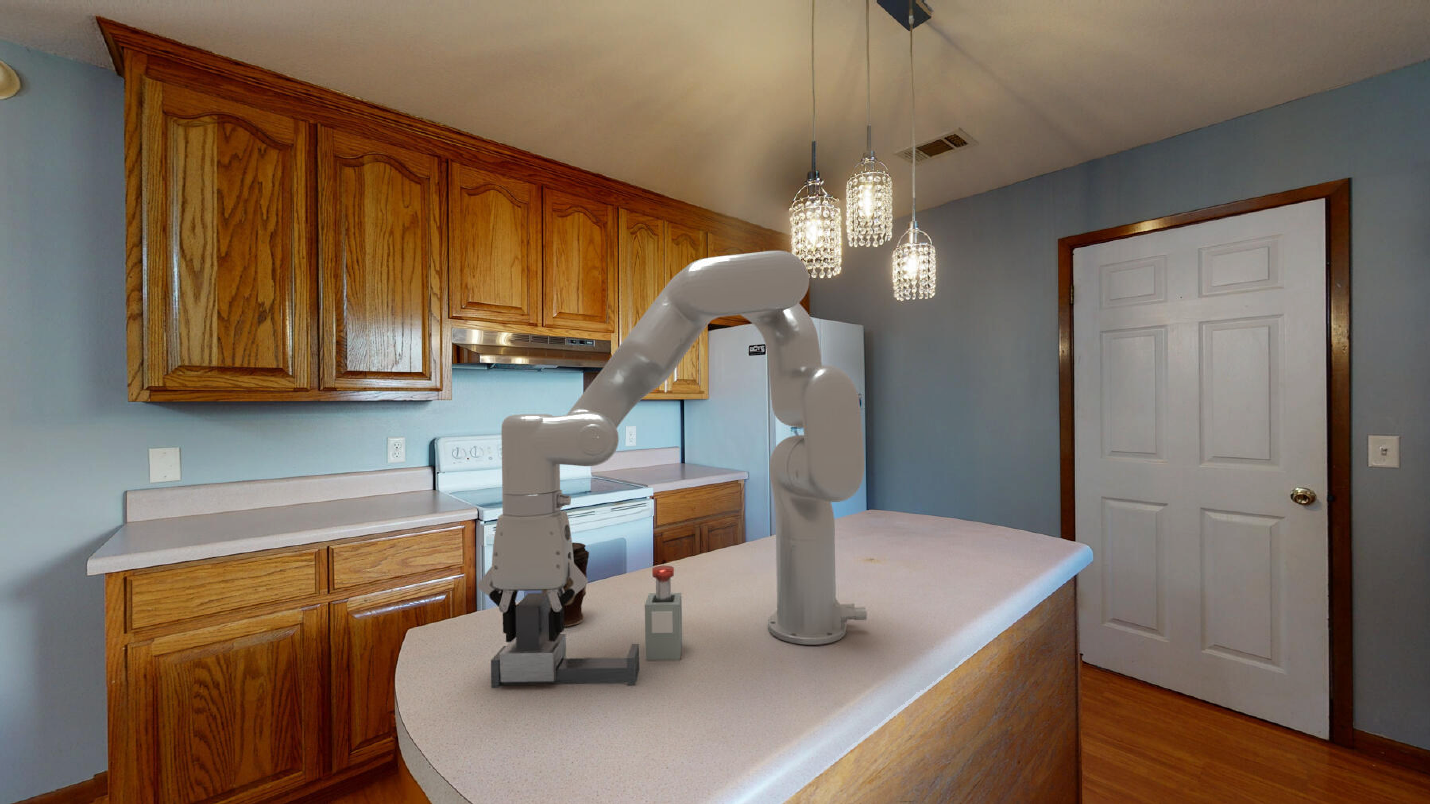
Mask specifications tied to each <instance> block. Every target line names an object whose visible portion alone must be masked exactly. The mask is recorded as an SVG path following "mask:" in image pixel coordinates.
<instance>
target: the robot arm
mask: <svg viewBox="0 0 1430 804" xmlns="http://www.w3.org/2000/svg"><path fill="white" fill-rule="evenodd" d="M809 286H810V275H809V271H808V269H807V267H806V265H805V263H804V262H803V261H802V259H800V257H798V256H796V255H795V254H793V253H792V252H789V251H785V250H766V251H758V252H757V251H756V252H750V253H749V252H748V253H740V254H739V253H738V254H731V255H730V254H728V255H720V256H719V255H718V256H711V257H706V258H700V259H698V260H695V261H693V262H691V263H689V264H687V266H686V267H684V268H683V269H682V270H680V271H679V272H678V273H677V274H676V275H674V276H673V278H671V279H670V280H669V282H667V284H666V285H665V287H664V288H663V289H662V290H661V291H660V293H659V294H658V296H657V297H656V298H655V300H654V301H653V302H652V304H651V305H650V306H649V307H648V308H647V310H646V311H645V312H644V314H643V315H642V316H641V318H640V319H639V320H638V322H637V323H636V324H635V325H634V327H633V328H632V330H631V331H630V332H629V333H628V334H627V336H626V337H625V338H624V339H623V341H622V342H621V344H619V346H618V347H617V348H616V350H615V351H614V352H613V354H612V356H610V358H609V360H608V361H607V363H606V364H605V365H604V367H603V368H602V369H601V370H600V372H599V373H598V374H597V376H596V377H595V378H594V379H593V380H592V381H591V383H590V384H589V385H588V386H587V388H586V389H585V391H584V392H582V394H581V396H580V397H579V398H578V400H577V401H576V402H575V404H574V405H573V406H572V407H571V409H570V410H569V411H568V413H566V415H564V414H563V415H552V414H549V413H547V414H546V413H538V414H537V413H528V414H527V413H526V414H513V415H509V416H506V417H505V418H504V420H503V421H502V424H501V433H500V434H501V481H502V482H501V484H502V485H501V487H502V490H501V491H502V493H501V494H502V497H501V498H502V513H501V514H500V515H499V516H498V517H497V521H496V525H495V531H494V537H493V546H492V555H491V556H492V557H491V566H490V568H489V569H488V570H487V571H486V573H485V574H484V575H483V577H482V578H481V579H480V580H479V582H478V583H477V588H478V589H479V590H480V591H481V592H483V593H484V594H485V595H486V596H488V597H489V599H490V600H491V602H492V603H494V604H495V605H496V606H497V607H498V610H499V611H500V613H502V633H503V634H505V642H506V643H510V642H511V641H513V640H514V639H515V637H516V605H517V602H516V600H517V596H518V593H519V591H521V592H523V591H529V592H530V591H542V590H547V593H548V596H549V599H550V602H551V605H552V606H551V609H552V610H551V611H550V612H549V641H550V642H555V640H556V639H557V637H558V636H559V635H560V634H563V632H564V628H565V627H564V606H565V605H566V604H567V602H568V601H569V600H570V599H571V598H572V597H573V596H574V595H576V594H577V593H578V592H579V591H580V590H582V589H583V588H584V587H585V586H586V587H587V584H589V583H588V582H589V579H588V578H586V577H585V576H584V574H583V573H582V572H581V571H580V570H579V569H578V567H577V566H576V565H575V564H574V559H573V548H572V543H573V541H572V539H573V538H572V533H571V532H572V531H571V525H570V520H569V517H568V512H567V511H564V510H561V509H562V508H563V507H565V506H571V503H572V502H571V501H572V497H571V495H569V494H568V495H566V494H563V490H562V489H561V469H560V468H561V465H567V466H577V467H595V466H599V465H601V464H603V463H606V462H607V461H608V460H611V459H610V458H612V457H613V456H614V454H615V453H616V452H617V449H618V446H619V440H620V438H619V432H618V427H619V426H620V425H621V423H622V422H623V421H624V419H625V418H626V417H627V416H628V414H629V413H630V412H631V411H632V409H633V408H634V407H635V406H636V405H638V403H639V402H640V401H641V400H643V399H644V398H645V397H646V396H647V395H649V394H650V393H652V392H653V391H654V390H656V389H658V388H659V387H660V386H662V384H664V383H665V382H666V380H668V379H669V378H670V377H671V375H672V374H673V373H674V371H675V370H676V369H677V367H678V366H679V365H680V363H681V362H682V360H683V359H684V357H685V355H686V354H687V353H688V352H689V351H690V349H691V347H692V346H693V345H694V343H695V342H696V341H697V340H698V339H699V337H700V336H701V334H703V332H704V330H705V329H706V328H707V326H708V325H709V324H710V323H711V321H713V320H715V319H718V318H721V317H723V318H724V317H729V316H730V317H731V316H741V317H742V318H744V319H746V320H747V321H749V322H751V324H753V325H754V327H756V329H757V330H758V331H759V333H760V335H761V336H762V337H763V341H764V344H765V348H766V354H767V361H768V363H767V364H768V371H769V384H770V385H769V386H770V396H771V397H770V399H771V407H772V411H773V413H774V415H775V418H776V419H777V420H779V422H781V423H782V424H784V425H786V426H789V427H794V428H800V429H801V428H802V429H803V434H799V435H792V436H788V437H786V438H785V439H783V440H781V441H780V442H779V443H778V444H777V445H776V446H775V448H774V449H773V451H772V452H771V457H770V459H769V476H770V483H771V484H770V485H771V489H772V495H773V500H774V501H773V502H774V512H775V557H776V558H775V560H776V563H775V564H776V601H777V602H776V609H777V612H776V613H774V614H772V615H770V616H769V618H768V620H767V629H768V631H769V632H770V634H771V635H772V636H774V637H775V638H777V639H779V640H782V641H783V642H787V643H792V644H797V645H807V646H808V645H809V646H812V645H815V646H816V645H818V646H819V645H825V644H831V643H834V642H837V641H839V640H840V639H842V638H844V636H846V633H847V622H848V621H849V620H854V621H867V619H868V616H867V609H866V607H856V606H855V604H854V603H845V604H844V603H843V604H841V603H840V602H839V601H838V599H837V589H836V588H837V587H836V586H837V585H836V584H837V583H836V538H835V537H836V532H835V531H836V528H835V527H836V526H835V514H834V509H833V505H832V503H840V502H844V501H846V500H849V499H850V498H852V497H853V496H855V495H856V493H857V492H858V490H859V489H860V487H861V485H862V483H863V479H864V475H865V452H864V439H863V438H864V437H863V436H864V435H863V428H862V427H863V425H862V414H861V404H860V398H859V394H858V390H857V388H856V386H855V384H854V382H853V381H852V379H851V378H850V377H849V375H848V374H847V373H846V372H845V371H843V370H842V369H840V368H838V367H835V366H833V365H823V364H822V356H821V350H820V342H819V336H818V331H817V328H816V326H815V323H814V321H813V320H812V319H813V318H811V316H810V314H808V312H807V310H806V309H805V307H803V306H802V305H801V301H802V300H803V299H804V298H805V296H806V294H807V292H808V290H809ZM570 578H571V579H572V580H573V585H572V586H570V587H569V588H568V589H567V590H566V591H565V592H564V589H563V587H564V586H565V584H566V580H568V579H570Z"/></svg>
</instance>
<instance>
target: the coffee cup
mask: <svg viewBox="0 0 1430 804" xmlns="http://www.w3.org/2000/svg"><path fill="white" fill-rule="evenodd" d="M572 548H573V559H574V564H575V565H576V566H577V567H578V569H579V570H580V571H581V572H582V573H583V574H584V576H585V577H586V578H587V577H588V576H587V569H588V563H589V558H590V551H588V550H587V549H586V544H584V543H582V542H572ZM587 579H588V578H587ZM572 585H573V580H572V579H571V578H570V579H568V580H566V584H565V586H564V587H563V589H564V592H565V591H566V590H567V589H568V588H569V587H570V586H572ZM586 589H587V585H586V586H585V587H584V588H583V589H582V590H580V591H579V592H578V593H577V594H576V595H574V596H573V597H572V598H571V599H570V600H569V601H568V602H567V604H566V605H565V606H564V628H565V627H572V626H575V625H579V624H580V623H582V622H584V620H585V619H584V615H583V613H582V606H583V601H584V597H585V596H586V594H587V590H586ZM541 593H547V590H541ZM551 606H552V605H551V602H550V611H551V610H552V609H551Z"/></svg>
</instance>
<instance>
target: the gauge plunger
mask: <svg viewBox="0 0 1430 804" xmlns="http://www.w3.org/2000/svg"><path fill="white" fill-rule="evenodd" d="M651 569H652V570H651V571H652V572H651V573H652V578H654V579H655V590H656V591H655V593H656V603H661V602H671V593H672V585H671V584H672V581H671V579H672V577H674V575H675V567H673V566H671V565H658V566H654V567H652V568H651Z"/></svg>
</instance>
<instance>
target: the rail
mask: <svg viewBox="0 0 1430 804" xmlns="http://www.w3.org/2000/svg"><path fill="white" fill-rule="evenodd" d="M506 646H507V645H503V646H502V647H501V648H500V649H499V650H498V652H496V654H495V655H494V656H493V658H492V659H490V677H491V678H490V679H491V682H490V684H491V685H490V687H491V688H493V689H494V688H500V687H501V686H503V685H505V686H507V685H510V686H514V685H565V684H569V685H570V684H571V685H574V684H575V685H576V684H581V685H582V684H626V685H627V686H636V682H637V680H638V679H637V678H638V675H639V672H640V643H632V644H630V648H629V652H628V654H627V656H626V657H581V658H578V657H575V658H572V657H571V658H566V659H561V661H560V662H559V664H558V665H557V667H556V679H555V680H554V681H538V682H501V673H500V653H501V652H502V651H503V649H504V648H505V647H506Z"/></svg>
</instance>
